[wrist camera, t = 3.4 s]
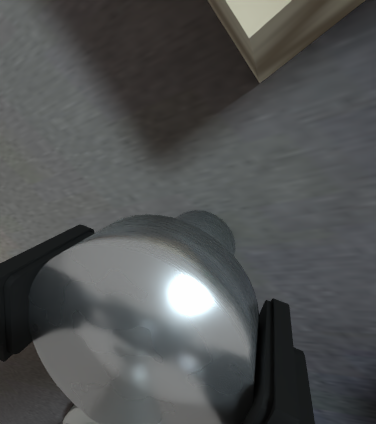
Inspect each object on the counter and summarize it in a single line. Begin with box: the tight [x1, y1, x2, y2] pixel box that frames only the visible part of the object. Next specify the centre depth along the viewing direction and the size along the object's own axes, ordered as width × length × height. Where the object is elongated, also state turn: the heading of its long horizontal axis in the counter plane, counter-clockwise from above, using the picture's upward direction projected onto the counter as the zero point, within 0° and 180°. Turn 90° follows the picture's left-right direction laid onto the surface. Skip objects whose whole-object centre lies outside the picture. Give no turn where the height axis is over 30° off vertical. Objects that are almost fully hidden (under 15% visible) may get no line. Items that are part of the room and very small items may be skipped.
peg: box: [29, 211, 259, 424], centre depth 11 cm, size 7×7×8 cm
